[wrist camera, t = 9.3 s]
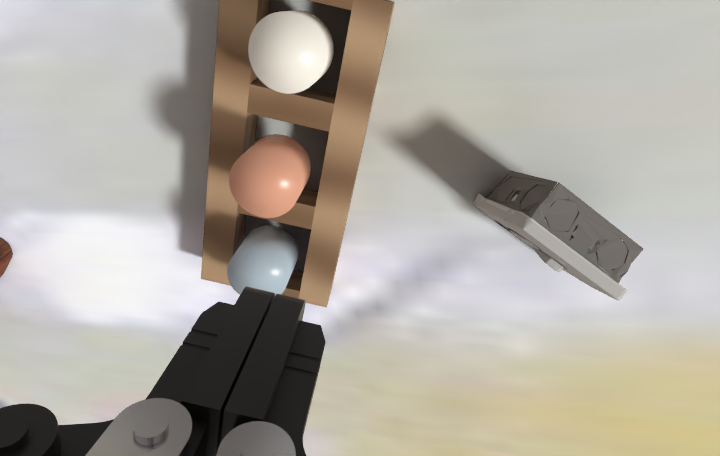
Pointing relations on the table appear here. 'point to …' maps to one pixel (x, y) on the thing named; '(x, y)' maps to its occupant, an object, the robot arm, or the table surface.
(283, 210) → the pink rounded piece
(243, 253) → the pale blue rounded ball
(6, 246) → the wooden figurine
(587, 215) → the electrical switch
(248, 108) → the wooden egg rack
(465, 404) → the table surface
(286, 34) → the white egg
